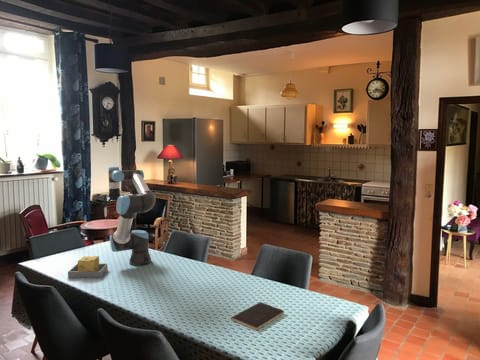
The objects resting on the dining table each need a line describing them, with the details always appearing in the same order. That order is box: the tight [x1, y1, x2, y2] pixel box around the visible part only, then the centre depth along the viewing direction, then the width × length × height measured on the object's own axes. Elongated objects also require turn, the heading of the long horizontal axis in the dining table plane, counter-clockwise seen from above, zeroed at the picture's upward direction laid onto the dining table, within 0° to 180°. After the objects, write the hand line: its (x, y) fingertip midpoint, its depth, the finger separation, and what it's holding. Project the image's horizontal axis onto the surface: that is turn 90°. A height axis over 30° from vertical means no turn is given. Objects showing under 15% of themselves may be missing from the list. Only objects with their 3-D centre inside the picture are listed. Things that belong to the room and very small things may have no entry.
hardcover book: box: [230, 301, 285, 331], centre depth 188 cm, size 16×23×2 cm
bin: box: [67, 263, 109, 280], centre depth 245 cm, size 20×15×4 cm
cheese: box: [77, 255, 100, 271], centre depth 244 cm, size 10×11×10 cm
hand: (115, 216), depth 275 cm, fingers open, 13 cm apart
